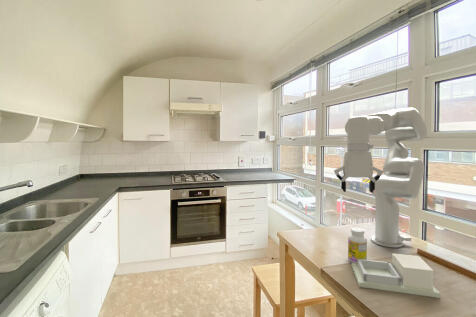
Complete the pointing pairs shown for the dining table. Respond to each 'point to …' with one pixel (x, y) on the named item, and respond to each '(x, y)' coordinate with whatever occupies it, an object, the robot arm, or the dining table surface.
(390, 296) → the dining table surface
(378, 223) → the robot arm
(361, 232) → the supplement bottle
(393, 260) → the square frame tray
